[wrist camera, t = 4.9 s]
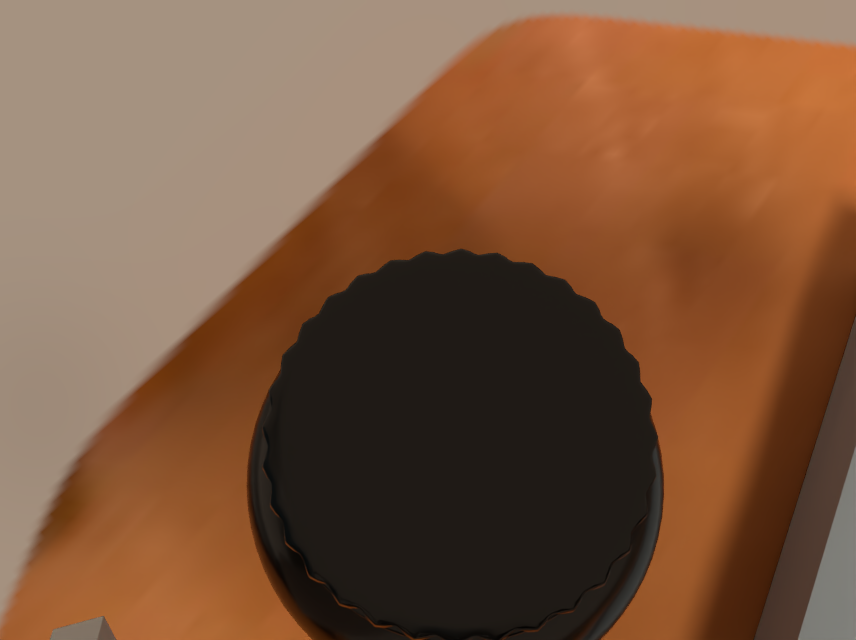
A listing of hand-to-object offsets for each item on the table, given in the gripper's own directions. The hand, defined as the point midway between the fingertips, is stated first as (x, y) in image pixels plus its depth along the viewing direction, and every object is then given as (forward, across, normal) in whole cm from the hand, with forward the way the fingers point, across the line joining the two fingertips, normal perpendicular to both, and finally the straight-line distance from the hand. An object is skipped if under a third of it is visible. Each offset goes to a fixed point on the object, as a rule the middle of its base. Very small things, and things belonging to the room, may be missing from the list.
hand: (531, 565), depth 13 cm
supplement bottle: (+7, -1, -4) cm, 8 cm away
